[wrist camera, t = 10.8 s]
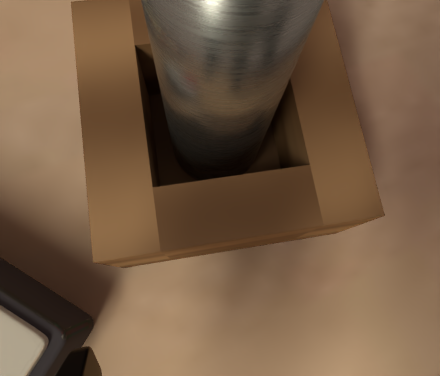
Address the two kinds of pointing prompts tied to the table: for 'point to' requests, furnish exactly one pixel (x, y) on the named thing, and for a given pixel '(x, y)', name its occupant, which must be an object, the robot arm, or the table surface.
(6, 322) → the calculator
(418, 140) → the table surface
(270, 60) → the pin
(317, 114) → the hole block
